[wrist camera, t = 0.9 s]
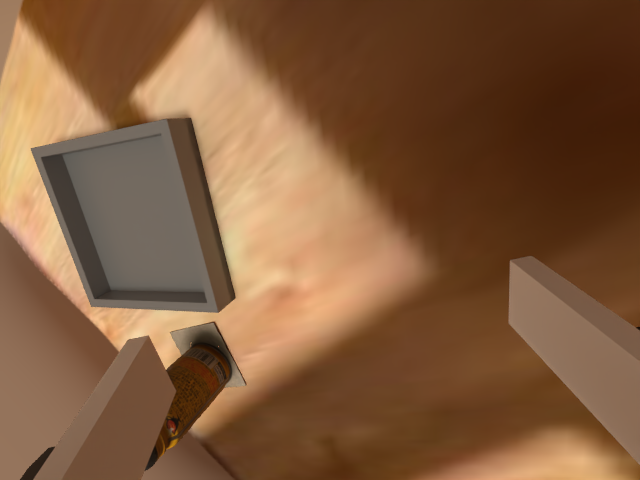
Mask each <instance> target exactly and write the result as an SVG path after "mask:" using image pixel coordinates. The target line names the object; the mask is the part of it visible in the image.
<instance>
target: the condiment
mask: <svg viewBox="0 0 640 480" xmlns="http://www.w3.org/2000/svg"><path fill="white" fill-rule="evenodd" d="M170 334H171V335H172V338H173V340H174V341H175V343H176V345H177V347H178V349H179V350H180V352H181V355H182V356H181V357H180V358H178V359H177V360H176V361H175V362H174V363H173V364H171V365H170V367H168V369H167V370H166V371H167V374H168V376H169V378H170V380H171V382H172V384H173V386H174V388H175V390H176V393H175V396H174V398H173V401H172V403H171V406H170V408H169V411H168V413H167V416H166V418H165V421H164V423H163V426H162V428H161V431H160V433H159V436H158V438H157V441H156V443H155V446H154V448H153V451H152V453H151V456H150V458H149V461H148V463H147V466H146V468H145V470H148V469H149V468H151V467H152V466H153V465H154V464H155V462H156V461H157V460H158V459H159V457H161V456H162V455H163V454H164V453H165V451H166V449H169V448H171V447H173V446H175V445H176V444H177V443H178V442H179V440H180V439H182V438H183V436H184V435H185V434H186V433H187V432H188V430H189V429H190V428H191V427H192V425H193V424H194V422H195V421H196V420H197V419H198V418H199V417H200V416H201V414H202V413H203V412H204V411H205V410H206V409H207V408H208V407H209V405H210V404H211V403H212V401H214V399H215V398H216V397H217V395H218V394H219V393H220V392H221V391H222V390H223V388H226V387H239V386H246V384H245V383H244V380H243V378H242V376H241V374H240V372H239V370H238V368H237V366H236V364H235V362H234V361H233V358H232V357H231V355H230V353H229V352H228V350H227V349H226V346H225V344H224V342H223V339H222V337H221V336H220V334H219V333H218V331H217V329H216V327H215V325H214V323H210V324H204V325H200V326H194V327H190V328H186V329H182V330H177V331H174V332H170ZM190 342H192V344H190ZM190 345H191V347H190ZM218 346H219V347H218Z"/></svg>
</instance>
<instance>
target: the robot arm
mask: <svg viewBox="0 0 640 480" xmlns="http://www.w3.org/2000/svg"><path fill="white" fill-rule="evenodd" d="M509 324H510V325H511V326H512V327H513V328H514V329H515V331H516V332H517V333H518V334H519V335H520V336H521V337H522V338H523V339H524V340H525V341H526V342H527V344H528V345H529V346H530V347H531V348H532V349H533V350H534V351H535V352H536V353H537V354H538V355H539V356H540V358H541V359H542V360H543V361H544V362H545V363H546V364H547V365H548V366H549V367H550V368H551V369H552V371H553V372H554V373H555V374H556V375H557V376H558V377H559V378H560V379H561V380H562V381H563V382H564V384H565V385H566V386H567V387H568V388H569V389H570V390H571V391H572V392H573V393H574V394H575V395H576V396H577V398H578V399H579V400H580V401H581V402H582V403H583V404H584V405H585V406H586V407H587V408H588V409H589V411H590V412H591V413H592V414H593V415H594V416H595V417H596V418H597V419H598V420H599V421H600V422H601V424H602V425H603V426H604V427H605V428H606V429H607V430H608V431H609V432H610V433H611V434H612V435H613V437H614V438H615V439H616V440H617V441H618V442H619V443H620V444H621V445H622V446H623V447H624V448H625V449H626V451H627V452H628V453H629V454H630V455H631V456H632V457H633V458H634V459H635V460H636V461H637V462H638V464H639V465H640V327H636V328H635V327H634V326H632V325H631V324H630V323H628V322H627V321H625V320H624V319H622V318H621V317H619V316H618V315H617V314H615V313H614V312H612V311H611V310H609V309H608V308H606V307H605V306H604V305H602V304H601V303H599V302H598V301H596V300H595V299H593V298H592V297H591V296H589V295H588V294H586V293H585V292H583V291H582V290H580V289H579V288H578V287H576V286H575V285H573V284H572V283H570V282H569V281H567V280H566V279H564V278H563V277H562V276H560V275H559V274H557V273H556V272H554V271H553V270H551V269H550V268H549V267H547V266H546V265H544V264H543V263H541V262H540V261H538V260H537V259H536V258H534V257H533V256H528V257H523V258H519V259H514V260H510V287H509ZM175 393H176V390H175V388H174V386H173V384H172V382H171V380H170V378H169V376H168V374H167V371H166V369H165V367H164V365H163V363H162V361H161V359H160V357H159V355H158V353H157V351H156V349H155V347H154V345H153V343H152V341H151V339H150V337H149V336H144V337H139V338H134V339H129V340H127V342H126V343H125V345H124V346H123V348H122V349H121V351H120V352H119V354H118V355H117V357H116V358H115V360H114V361H113V363H112V364H111V366H110V367H109V368H108V370H107V371H106V373H105V375H104V376H103V378H102V379H101V380H100V382H99V383H98V385H97V386H96V388H95V389H94V391H93V392H92V394H91V395H90V397H89V398H88V400H87V401H86V403H85V404H84V406H83V407H82V408H81V410H80V411H79V413H78V414H77V416H76V417H75V419H74V420H73V422H72V423H71V425H70V426H69V427H68V429H67V431H66V432H65V433H64V435H63V436H62V438H61V439H60V441H59V442H58V444H57V445H56V447H51V448H48V449H47V450H46V451H45V452H44V453H43V454H42V455H41V456H40V457H39V458H38V459H37V460H36V461H35V462H34V463H33V464H32V465H31V466H30V467H29V468H28V469H27V471H26V472H25V473H24V475H23V477H22V478H21V479H20V480H141V478H142V476H143V473H144V471H145V468H146V466H147V463H148V461H149V458H150V456H151V453H152V451H153V448H154V446H155V443H156V441H157V438H158V436H159V433H160V431H161V428H162V426H163V423H164V421H165V418H166V416H167V413H168V411H169V408H170V406H171V403H172V401H173V398H174V396H175Z"/></svg>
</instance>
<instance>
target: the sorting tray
mask: <svg viewBox="0 0 640 480" xmlns="http://www.w3.org/2000/svg"><path fill="white" fill-rule="evenodd" d="M31 151H32V154H33V156H34V159H35V161H36V164H37V167H38V169H39V172H40V174H41V177H42V180H43V182H44V185H45V187H46V190H47V193H48V195H49V198H50V201H51V203H52V206H53V208H54V211H55V214H56V216H57V219H58V221H59V224H60V227H61V229H62V232H63V234H64V237H65V240H66V242H67V245H68V247H69V250H70V253H71V255H72V258H73V260H74V263H75V266H76V268H77V271H78V273H79V276H80V279H81V281H82V284H83V286H84V289H85V292H86V294H87V297H88V299H89V302H90V305H91V307H109V308H130V309H151V310H173V311H194V312H215V313H219V312H220V311H221V310H222V309H223V308H224V307H226V306H227V305H228V304H229V303H230V302H232V301H233V300H234V299H235V294H234V290H233V286H232V282H231V278H230V274H229V270H228V266H227V262H226V258H225V254H224V250H223V246H222V242H221V238H220V234H219V230H218V226H217V222H216V218H215V214H214V210H213V206H212V202H211V198H210V193H209V189H208V185H207V181H206V177H205V173H204V169H203V165H202V161H201V157H200V153H199V149H198V145H197V141H196V137H195V133H194V129H193V125H192V121H191V118H185V119H164V120H159V121H154V122H150V123H145V124H141V125H136V126H132V127H127V128H122V129H118V130H113V131H109V132H104V133H99V134H95V135H90V136H86V137H81V138H76V139H72V140H67V141H63V142H58V143H53V144H49V145H44V146H40V147H35V148H31Z"/></svg>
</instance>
